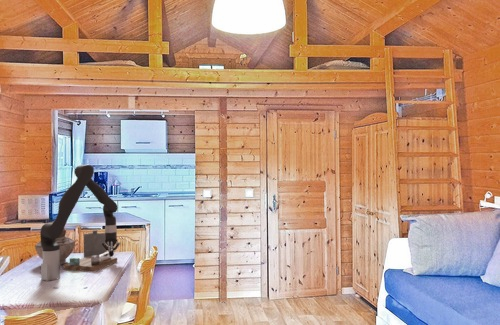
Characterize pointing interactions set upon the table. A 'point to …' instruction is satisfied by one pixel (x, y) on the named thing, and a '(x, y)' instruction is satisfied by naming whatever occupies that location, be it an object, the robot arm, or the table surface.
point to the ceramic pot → (65, 247)
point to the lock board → (87, 264)
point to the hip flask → (94, 243)
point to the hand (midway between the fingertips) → (111, 256)
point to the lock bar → (99, 258)
